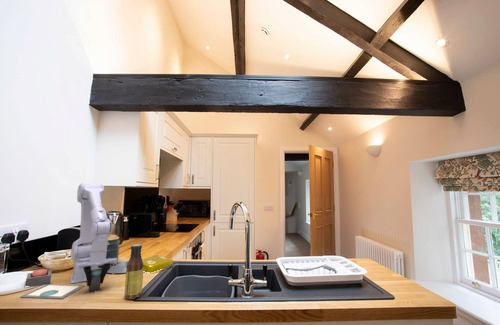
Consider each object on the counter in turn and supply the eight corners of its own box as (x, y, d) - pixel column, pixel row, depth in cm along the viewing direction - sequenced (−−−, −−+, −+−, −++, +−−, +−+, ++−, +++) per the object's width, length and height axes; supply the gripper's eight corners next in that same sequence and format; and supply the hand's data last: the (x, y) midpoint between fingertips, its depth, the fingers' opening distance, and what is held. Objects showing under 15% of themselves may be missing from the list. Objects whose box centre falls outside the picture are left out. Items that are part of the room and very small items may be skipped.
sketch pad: (19, 297, 86) (20, 296, 86) (47, 285, 98) (47, 283, 98) (62, 299, 86) (62, 297, 86) (84, 286, 98) (84, 285, 98)
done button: (46, 275, 104) (47, 268, 104) (46, 278, 100) (47, 271, 101) (31, 277, 101) (33, 270, 101) (31, 280, 97) (32, 273, 98)
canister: (113, 267, 123) (116, 233, 125) (86, 268, 120) (90, 233, 122) (121, 260, 135) (124, 230, 138) (96, 261, 133) (100, 229, 135)
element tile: (173, 267, 128) (174, 258, 128) (149, 275, 115) (150, 265, 116) (157, 262, 136) (157, 254, 136) (132, 269, 123) (133, 259, 124)
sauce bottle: (144, 295, 92) (149, 244, 95) (132, 301, 87) (137, 247, 89) (132, 292, 95) (137, 242, 97) (119, 298, 89) (125, 245, 91)
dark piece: (99, 287, 98) (101, 267, 99) (100, 290, 95) (102, 270, 96) (87, 289, 95) (90, 269, 96) (88, 293, 92) (91, 272, 93)
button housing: (50, 278, 106) (51, 270, 106) (50, 283, 100) (51, 275, 100) (26, 281, 101) (27, 273, 101) (24, 287, 95) (26, 279, 95)
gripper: (78, 254, 89) (73, 291, 88) (120, 250, 99) (116, 283, 97) (77, 250, 95) (72, 285, 93) (116, 246, 104) (113, 278, 102)
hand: (94, 284), depth 95 cm, fingers closed on dark piece, 4 cm apart
